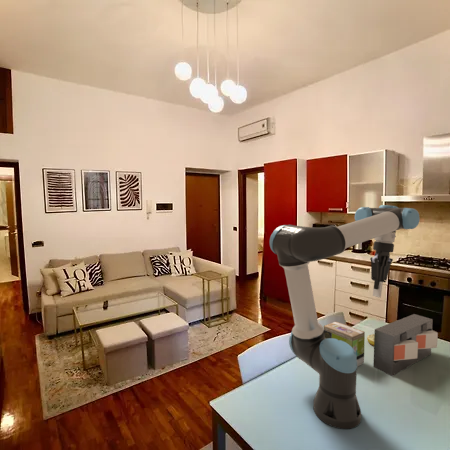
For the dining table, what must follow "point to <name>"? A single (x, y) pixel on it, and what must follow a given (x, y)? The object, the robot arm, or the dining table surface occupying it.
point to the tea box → (347, 338)
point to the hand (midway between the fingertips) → (376, 296)
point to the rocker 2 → (427, 339)
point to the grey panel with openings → (394, 335)
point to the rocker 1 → (406, 350)
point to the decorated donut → (371, 339)
